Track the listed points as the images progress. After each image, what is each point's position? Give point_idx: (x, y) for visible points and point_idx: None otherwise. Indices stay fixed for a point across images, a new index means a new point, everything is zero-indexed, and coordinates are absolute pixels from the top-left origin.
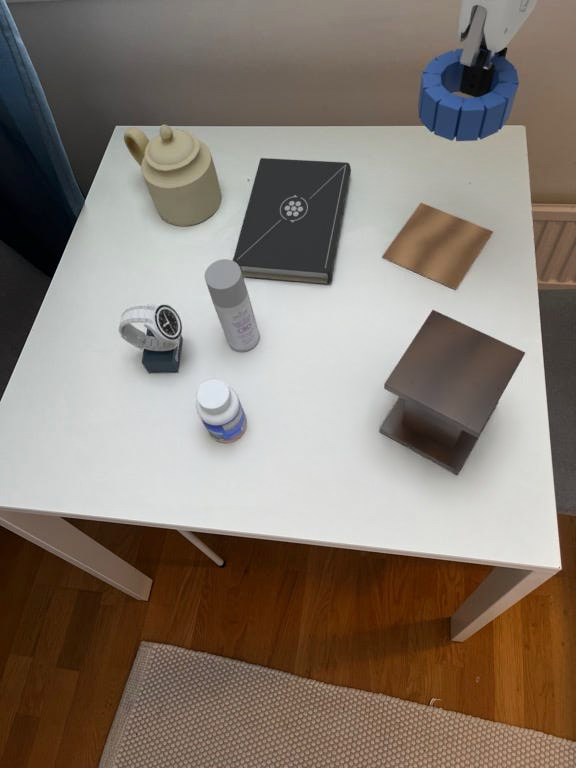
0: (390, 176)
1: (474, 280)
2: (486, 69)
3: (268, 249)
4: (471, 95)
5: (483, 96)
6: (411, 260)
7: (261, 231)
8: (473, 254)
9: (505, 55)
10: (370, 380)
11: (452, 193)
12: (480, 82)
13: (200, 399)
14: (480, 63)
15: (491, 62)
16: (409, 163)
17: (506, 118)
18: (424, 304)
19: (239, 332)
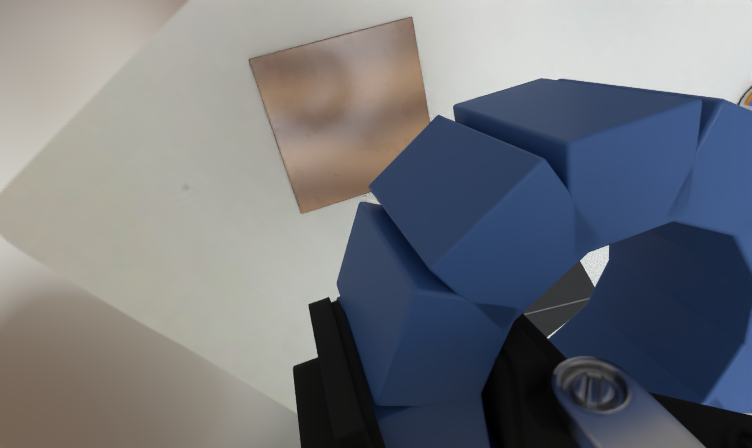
0: (292, 291)
1: (368, 4)
2: (599, 365)
3: (556, 286)
4: None
5: (726, 225)
6: (414, 128)
7: (536, 317)
8: (325, 49)
9: (331, 397)
10: (628, 3)
11: (234, 191)
12: (528, 323)
13: None
14: (731, 417)
15: (564, 392)
16: (243, 294)
17: (512, 94)
18: (468, 41)
19: None
